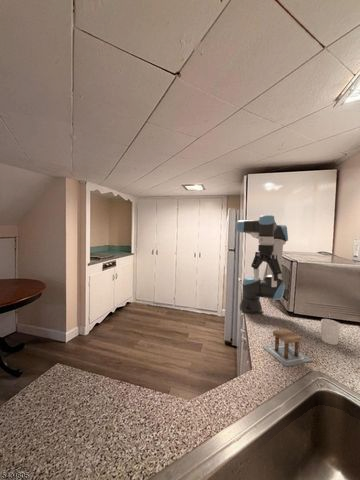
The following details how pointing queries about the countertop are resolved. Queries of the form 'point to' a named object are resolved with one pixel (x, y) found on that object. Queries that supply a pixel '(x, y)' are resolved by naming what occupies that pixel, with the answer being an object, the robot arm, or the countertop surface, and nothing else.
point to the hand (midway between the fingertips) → (264, 283)
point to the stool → (287, 341)
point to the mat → (291, 358)
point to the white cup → (330, 331)
